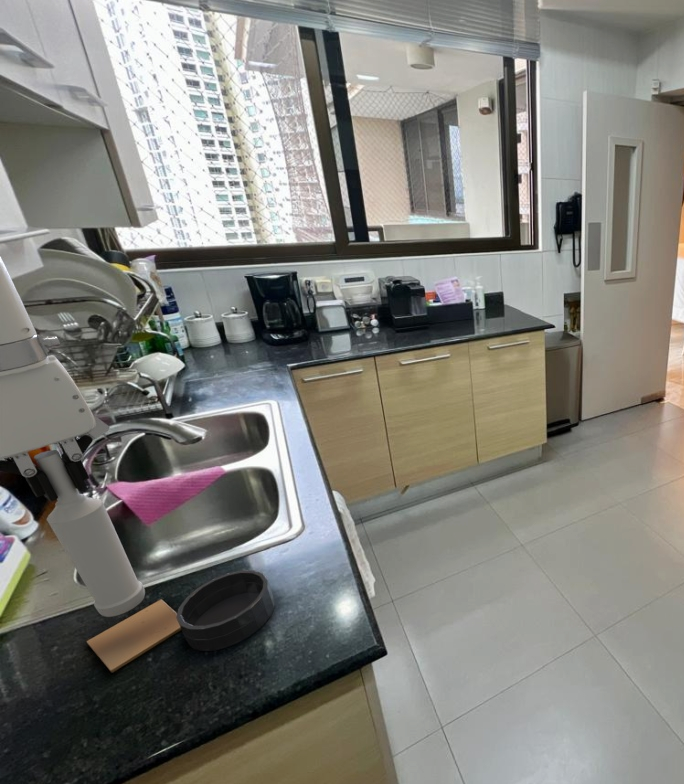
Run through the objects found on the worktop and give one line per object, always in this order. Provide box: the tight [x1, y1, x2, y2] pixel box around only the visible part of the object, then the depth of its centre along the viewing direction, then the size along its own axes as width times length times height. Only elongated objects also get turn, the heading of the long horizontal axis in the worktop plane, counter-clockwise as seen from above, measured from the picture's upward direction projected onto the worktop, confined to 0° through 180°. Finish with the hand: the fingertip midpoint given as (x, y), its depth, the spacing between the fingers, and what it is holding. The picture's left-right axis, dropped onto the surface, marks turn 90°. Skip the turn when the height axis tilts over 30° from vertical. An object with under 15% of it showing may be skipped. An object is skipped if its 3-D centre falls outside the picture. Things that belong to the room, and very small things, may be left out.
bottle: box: [33, 449, 146, 618], centre depth 63 cm, size 5×5×25 cm
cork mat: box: [86, 599, 182, 673], centre depth 70 cm, size 9×9×1 cm
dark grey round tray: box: [176, 569, 276, 652], centre depth 72 cm, size 11×11×4 cm
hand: (65, 491), depth 60 cm, fingers closed on bottle, 2 cm apart
